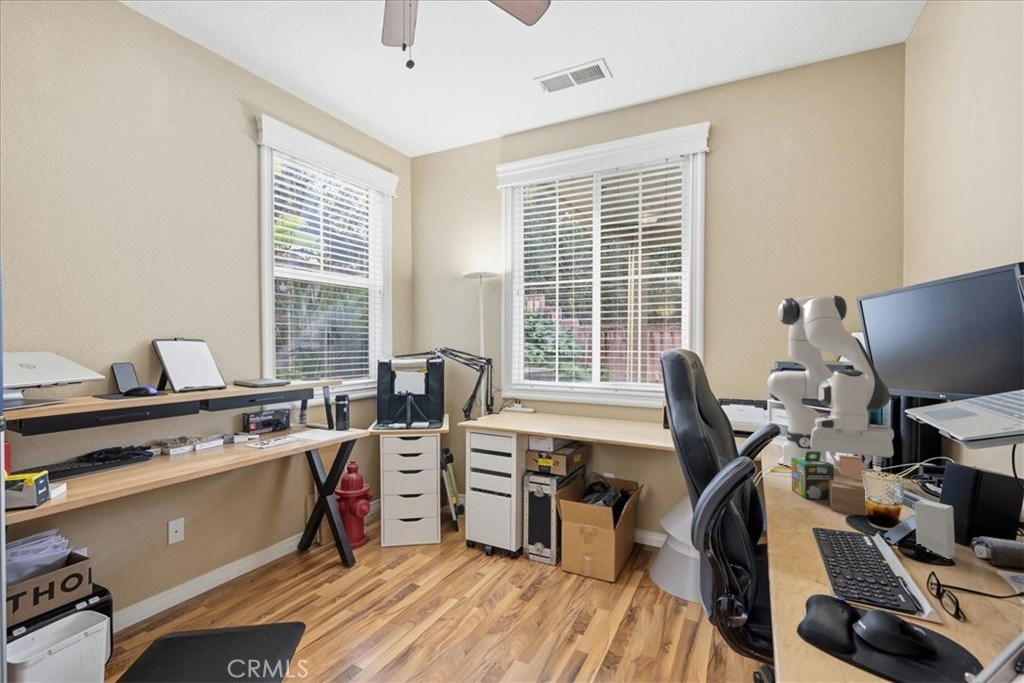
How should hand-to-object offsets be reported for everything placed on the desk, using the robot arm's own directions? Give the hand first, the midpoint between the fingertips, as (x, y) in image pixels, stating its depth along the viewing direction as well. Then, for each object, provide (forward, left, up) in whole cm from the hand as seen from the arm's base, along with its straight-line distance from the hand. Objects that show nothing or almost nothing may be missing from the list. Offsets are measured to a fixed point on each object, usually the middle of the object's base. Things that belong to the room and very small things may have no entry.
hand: (850, 468), depth 137 cm
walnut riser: (0, 0, -13) cm, 13 cm away
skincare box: (+26, +13, -13) cm, 32 cm away
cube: (0, 0, -2) cm, 2 cm away
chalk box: (-10, -9, -13) cm, 19 cm away
